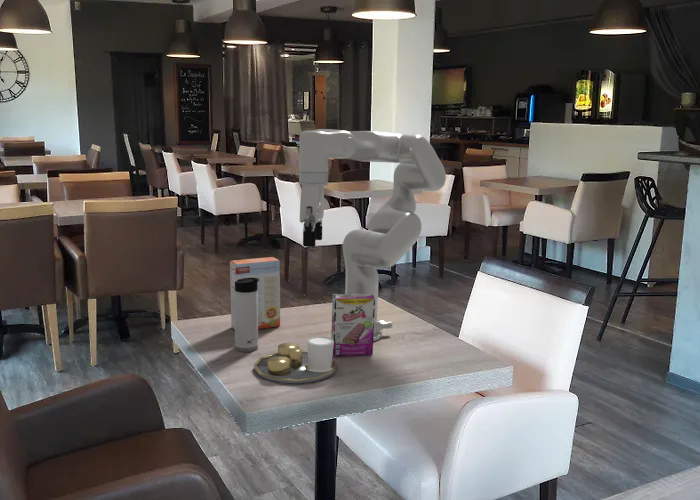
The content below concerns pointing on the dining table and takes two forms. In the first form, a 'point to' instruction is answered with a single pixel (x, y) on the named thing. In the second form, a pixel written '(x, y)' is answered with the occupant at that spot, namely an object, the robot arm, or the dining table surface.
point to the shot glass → (320, 353)
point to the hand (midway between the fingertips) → (312, 243)
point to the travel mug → (246, 314)
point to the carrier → (290, 367)
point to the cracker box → (259, 288)
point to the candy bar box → (353, 324)
